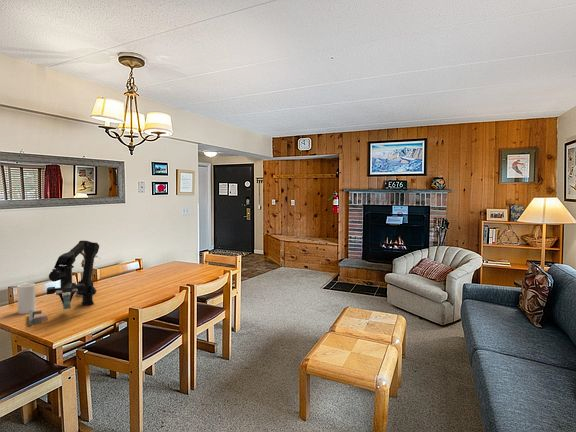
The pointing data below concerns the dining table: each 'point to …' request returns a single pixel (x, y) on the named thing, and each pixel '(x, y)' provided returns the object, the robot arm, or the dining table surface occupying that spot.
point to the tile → (42, 315)
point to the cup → (26, 298)
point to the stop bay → (34, 320)
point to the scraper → (66, 301)
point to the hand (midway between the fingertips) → (66, 303)
